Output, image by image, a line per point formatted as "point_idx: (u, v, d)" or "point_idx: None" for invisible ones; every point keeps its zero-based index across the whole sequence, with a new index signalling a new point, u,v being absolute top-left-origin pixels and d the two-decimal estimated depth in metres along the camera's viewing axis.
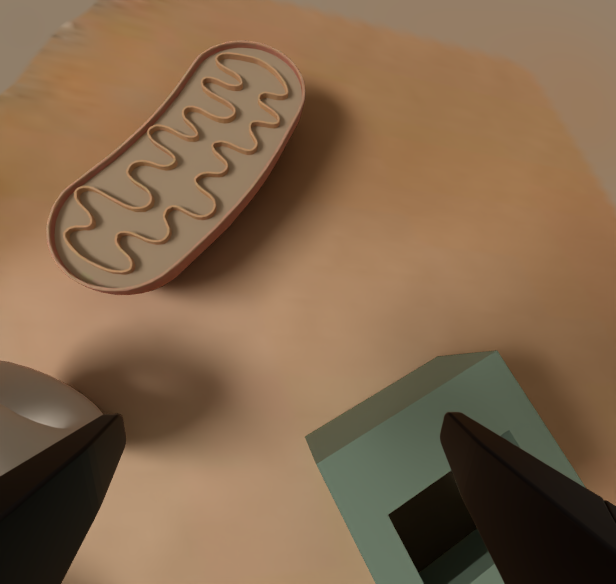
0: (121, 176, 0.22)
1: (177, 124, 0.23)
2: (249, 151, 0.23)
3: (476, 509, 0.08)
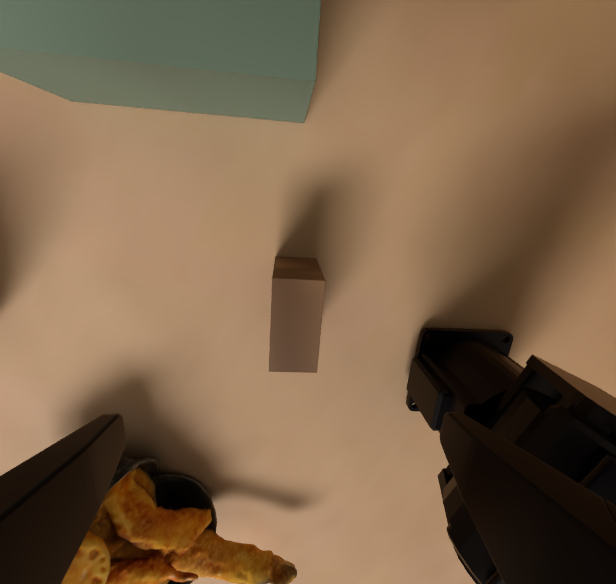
0: None
1: None
2: None
3: (476, 509, 0.08)
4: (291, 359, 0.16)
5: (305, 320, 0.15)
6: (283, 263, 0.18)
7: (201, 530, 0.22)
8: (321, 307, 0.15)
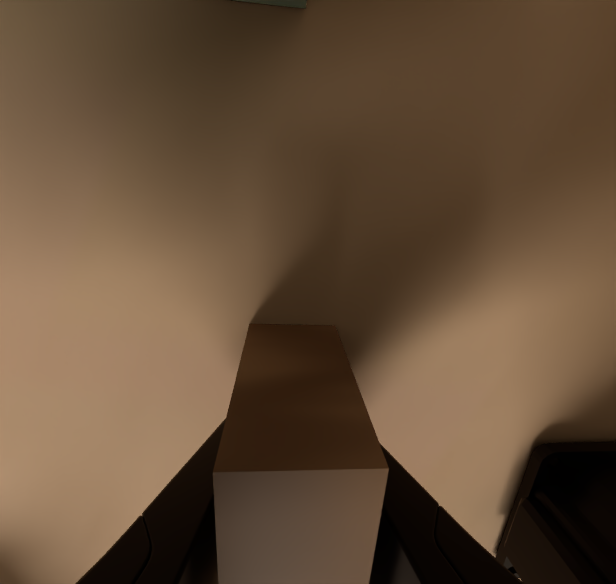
0: None
1: None
2: None
3: None
4: None
5: (323, 567, 0.05)
6: (262, 356, 0.07)
7: None
8: (373, 535, 0.05)
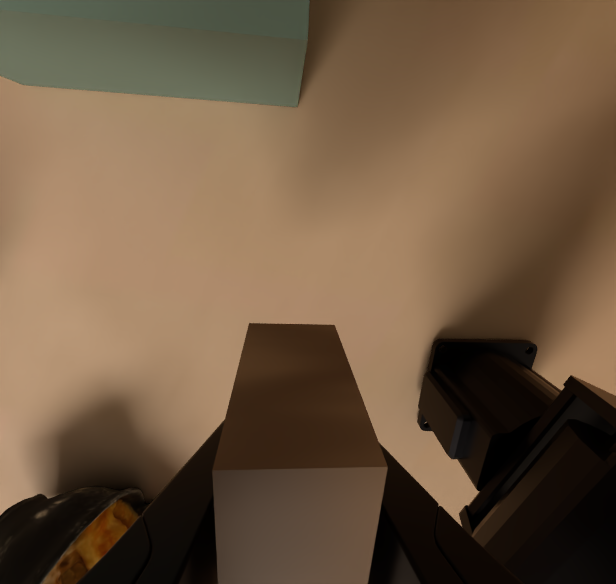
0: None
1: None
2: None
3: None
4: None
5: (322, 566, 0.05)
6: (262, 355, 0.07)
7: None
8: (372, 533, 0.05)
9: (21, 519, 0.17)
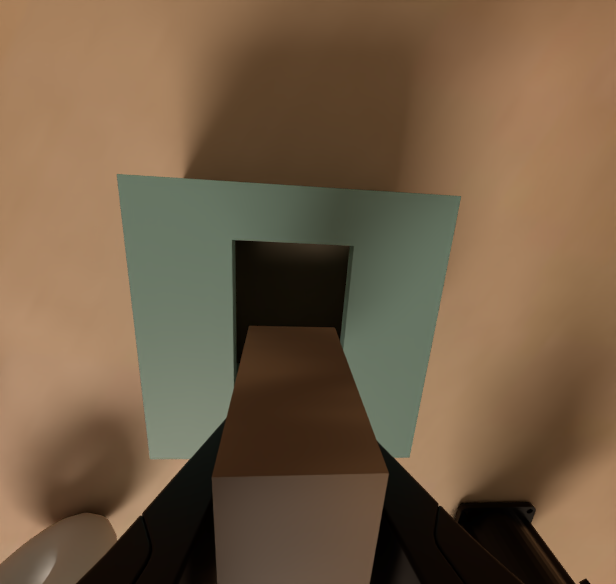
0: None
1: None
2: None
3: None
4: None
5: (322, 572, 0.05)
6: (262, 358, 0.07)
7: None
8: (373, 540, 0.05)
9: None
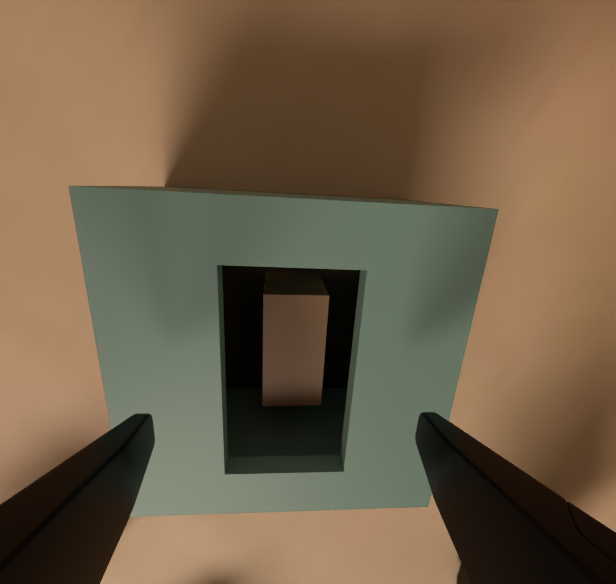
0: None
1: None
2: None
3: (446, 510, 0.07)
4: (289, 391, 0.13)
5: (305, 344, 0.13)
6: (276, 272, 0.15)
7: None
8: (325, 328, 0.12)
9: None
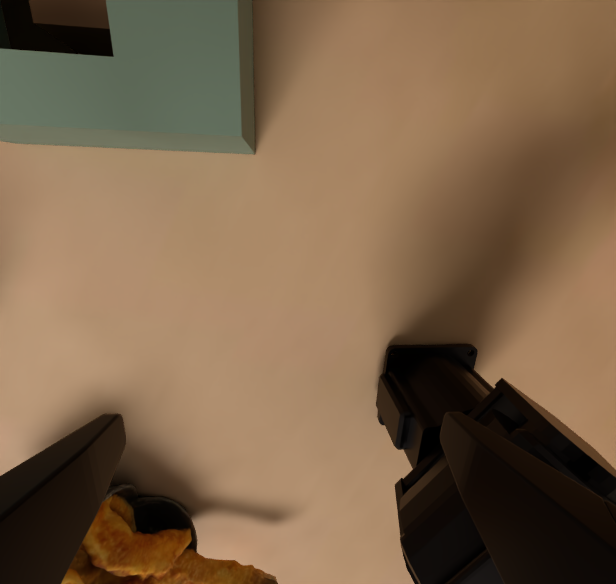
0: None
1: None
2: None
3: (476, 509, 0.08)
4: None
5: None
6: None
7: (180, 551, 0.23)
8: None
9: None
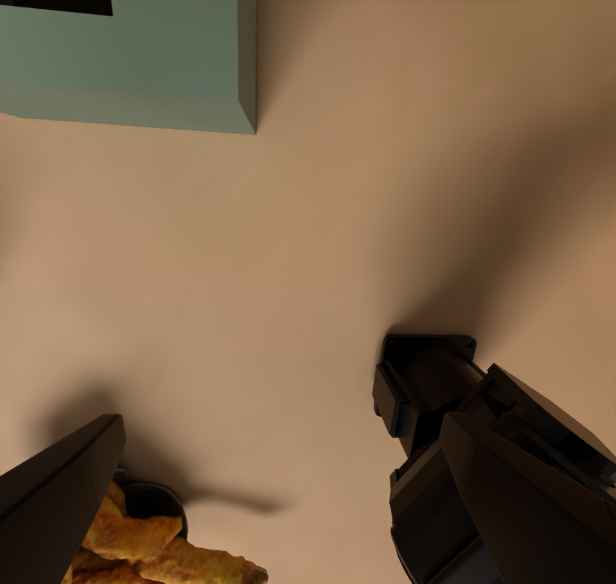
0: None
1: None
2: None
3: (476, 509, 0.08)
4: None
5: None
6: None
7: (170, 538, 0.22)
8: None
9: None
